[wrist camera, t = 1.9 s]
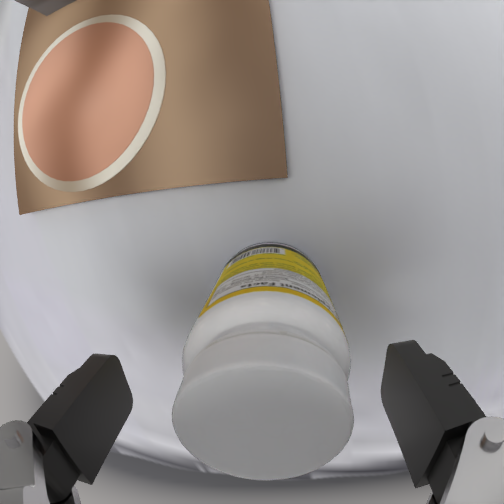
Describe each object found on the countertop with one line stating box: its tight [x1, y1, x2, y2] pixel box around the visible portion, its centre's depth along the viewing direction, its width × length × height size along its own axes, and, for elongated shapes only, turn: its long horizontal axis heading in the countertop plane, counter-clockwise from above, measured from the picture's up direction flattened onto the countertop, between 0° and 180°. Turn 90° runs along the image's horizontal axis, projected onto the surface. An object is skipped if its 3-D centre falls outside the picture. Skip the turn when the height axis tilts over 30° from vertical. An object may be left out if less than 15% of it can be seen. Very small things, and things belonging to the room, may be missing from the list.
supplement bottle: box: [172, 243, 354, 480], centre depth 10 cm, size 5×5×8 cm
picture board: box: [14, 0, 287, 215], centre depth 9 cm, size 14×19×4 cm
